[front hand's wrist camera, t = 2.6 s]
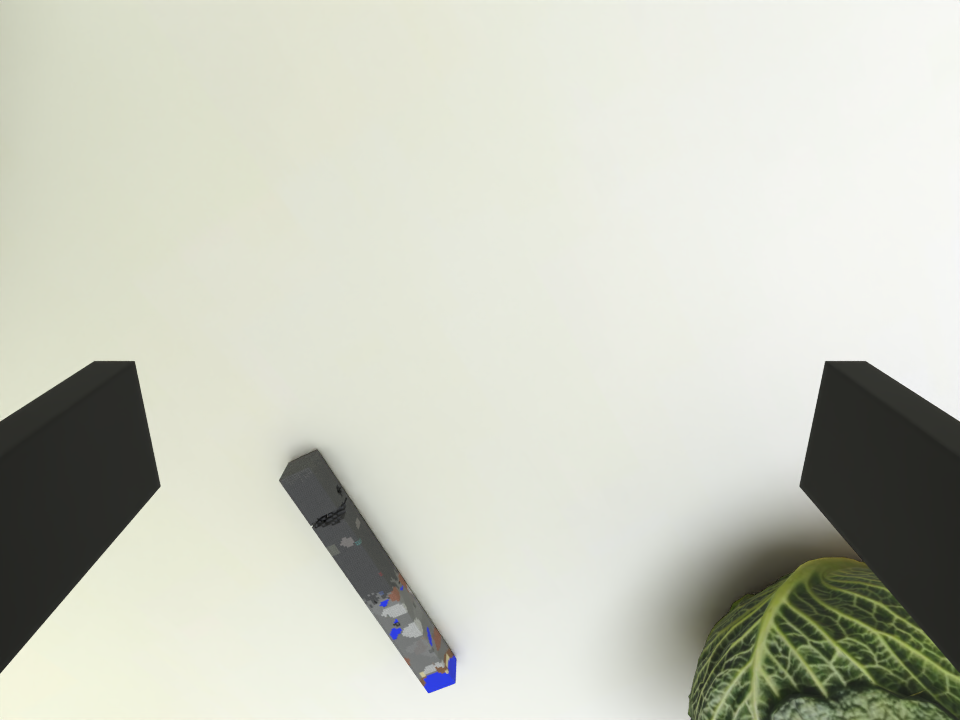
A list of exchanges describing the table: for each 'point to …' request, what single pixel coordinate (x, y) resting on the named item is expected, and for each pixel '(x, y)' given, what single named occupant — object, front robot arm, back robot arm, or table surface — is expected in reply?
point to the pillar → (369, 569)
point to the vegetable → (823, 654)
